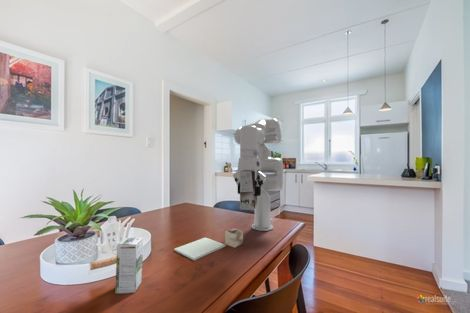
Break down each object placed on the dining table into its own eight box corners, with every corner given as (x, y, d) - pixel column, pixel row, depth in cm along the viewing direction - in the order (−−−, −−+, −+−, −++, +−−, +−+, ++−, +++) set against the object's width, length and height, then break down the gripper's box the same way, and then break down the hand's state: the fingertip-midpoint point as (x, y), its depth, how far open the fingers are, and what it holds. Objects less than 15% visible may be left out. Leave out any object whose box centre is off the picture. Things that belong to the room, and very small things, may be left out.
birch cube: (233, 240, 102) (233, 228, 102) (243, 243, 98) (243, 230, 98) (225, 244, 97) (225, 231, 98) (234, 247, 93) (234, 234, 94)
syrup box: (123, 282, 66) (124, 237, 66) (142, 282, 67) (143, 236, 67) (115, 294, 60) (115, 244, 61) (135, 293, 61) (136, 243, 61)
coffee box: (255, 210, 83) (254, 170, 84) (239, 209, 85) (239, 170, 85) (257, 205, 92) (257, 169, 93) (243, 204, 94) (243, 169, 94)
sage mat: (205, 238, 104) (205, 237, 104) (225, 246, 95) (225, 244, 95) (174, 250, 90) (174, 248, 90) (193, 260, 81) (193, 258, 81)
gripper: (270, 154, 86) (270, 195, 86) (238, 155, 97) (238, 191, 97) (260, 154, 80) (260, 198, 80) (228, 154, 92) (228, 193, 91)
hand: (248, 194), depth 89 cm, fingers closed on coffee box, 8 cm apart
